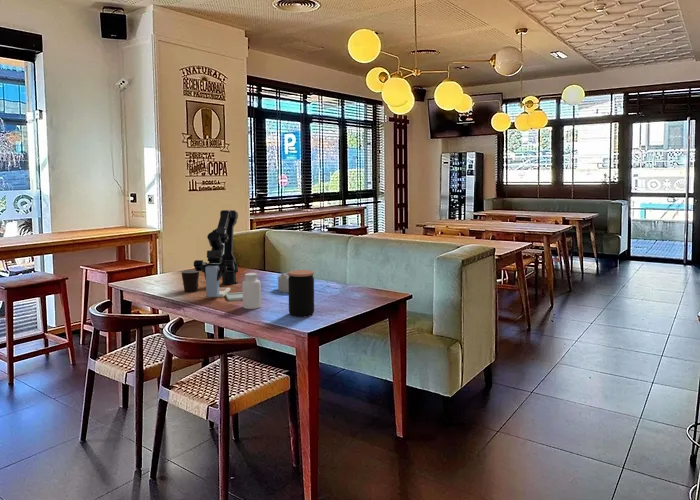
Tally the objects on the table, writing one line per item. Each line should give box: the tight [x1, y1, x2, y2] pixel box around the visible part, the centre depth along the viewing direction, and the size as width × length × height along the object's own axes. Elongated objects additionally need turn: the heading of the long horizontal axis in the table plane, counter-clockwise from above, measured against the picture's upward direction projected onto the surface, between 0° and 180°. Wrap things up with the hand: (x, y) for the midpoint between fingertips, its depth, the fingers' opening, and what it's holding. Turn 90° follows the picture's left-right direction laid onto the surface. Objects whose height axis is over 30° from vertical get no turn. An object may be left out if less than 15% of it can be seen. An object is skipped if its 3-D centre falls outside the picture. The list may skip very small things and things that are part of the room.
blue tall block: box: [205, 266, 220, 298], centre depth 262 cm, size 5×5×14 cm
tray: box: [224, 291, 243, 302], centre depth 265 cm, size 12×12×1 cm
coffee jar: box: [287, 269, 315, 318], centre depth 234 cm, size 11×11×18 cm
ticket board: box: [205, 287, 231, 298], centre depth 274 cm, size 16×8×1 cm, turn 0°
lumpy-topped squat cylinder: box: [277, 271, 290, 294], centre depth 282 cm, size 10×13×9 cm
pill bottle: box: [241, 272, 262, 310], centre depth 245 cm, size 8×8×15 cm
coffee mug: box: [181, 269, 200, 293], centre depth 280 cm, size 12×9×10 cm
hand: (211, 280), depth 261 cm, fingers closed on blue tall block, 5 cm apart
